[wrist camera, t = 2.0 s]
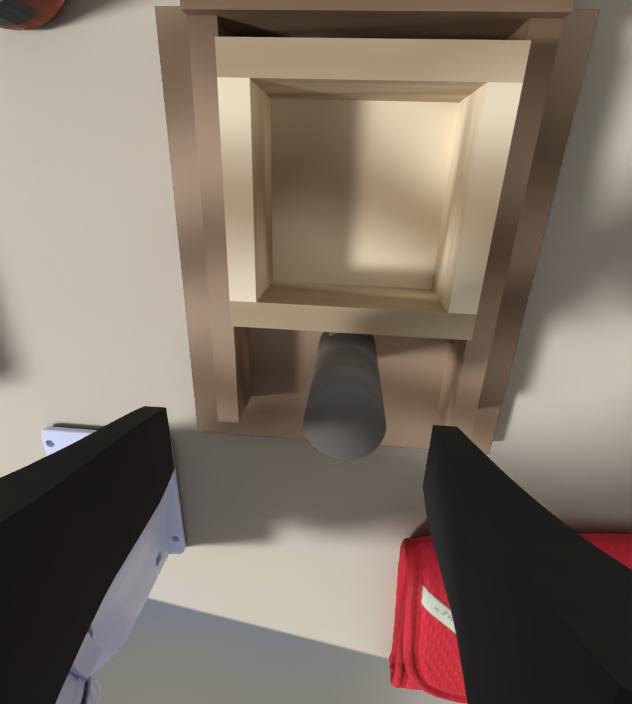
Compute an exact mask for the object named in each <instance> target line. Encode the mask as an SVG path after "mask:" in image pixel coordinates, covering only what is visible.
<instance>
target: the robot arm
mask: <svg viewBox="0 0 632 704" xmlns="http://www.w3.org/2000/svg"><path fill="white" fill-rule="evenodd" d="M41 438H42V441H43V445H44V448H45V452H46V455H47V456H46V457H44V458H42V459H40V460H38V461H36V462H34V463H32V464H30V465H28V466H26V467H24V468H21V469H19V470H17V471H15V472H12V473H10V474H8V475H6V476H3V477H1V478H0V704H99V702H100V685H99V683H98V681H97V680H96V679H95V678H93V677H91V676H90V675H91V674H92V673H94V672H96V671H97V670H98V669H99V668H101V667H102V666H103V665H104V664H106V663H107V662H108V661H109V660H110V659H111V658H112V657H113V656H114V655H115V654H116V652H117V651H118V650H119V649H120V648H121V646H122V645H123V644H124V642H125V641H126V639H127V638H128V636H129V634H130V632H131V630H132V628H133V626H134V624H135V622H136V620H137V618H138V616H139V614H140V612H141V610H142V608H143V606H144V604H145V601H146V599H147V597H148V595H149V593H150V591H151V589H152V587H153V585H154V583H155V581H156V579H157V577H158V575H159V573H160V571H161V569H162V567H163V565H164V563H165V561H166V559H167V557H168V555H169V554H182V553H183V552H184V550H185V548H186V544H185V536H184V529H183V521H182V514H181V507H180V499H179V492H178V484H177V477H176V469H175V462H174V455H173V447H172V442H171V438H170V431H169V425H168V418H167V412H166V408H163V407H147V406H144V407H142V408H139V409H137V410H135V411H133V412H131V413H129V414H127V415H125V416H123V417H121V418H119V419H117V420H115V421H114V422H112V423H110V424H108V425H106V426H104V427H102V428H101V429H99V430H88V429H75V428H62V427H46V428H45V429H44V430H42V432H41ZM53 442H54V443H53ZM423 491H424V499H425V507H426V514H427V521H428V525H429V529H430V533H431V537H432V541H433V545H434V549H435V553H436V556H437V560H438V564H439V568H440V572H441V575H442V579H443V583H444V587H445V590H446V594H447V598H448V602H449V605H450V609H451V614H452V618H453V622H454V627H455V632H456V637H457V643H458V649H459V655H460V661H461V667H462V673H463V679H464V685H465V692H466V698H467V704H632V569H630V568H628V567H627V566H625V565H624V564H622V563H621V562H619V561H618V560H616V559H614V558H613V557H611V556H610V555H608V554H607V553H605V552H604V551H602V550H601V549H599V548H598V547H597V546H595V545H594V544H592V543H591V542H589V541H588V540H587V539H585V538H584V537H582V536H581V535H580V534H578V533H577V532H576V531H574V530H573V529H572V528H570V527H569V526H567V525H566V524H565V523H563V522H562V521H561V520H559V519H558V518H557V517H556V516H554V515H553V514H552V513H550V512H549V511H548V510H547V509H545V508H544V507H543V506H542V505H541V504H539V503H538V502H537V501H536V500H535V499H534V498H532V497H531V496H530V495H529V494H528V493H526V492H525V491H524V490H523V489H522V488H521V487H520V486H518V485H517V484H516V483H515V482H514V481H513V480H512V479H511V478H510V477H508V476H507V475H506V474H505V473H504V472H503V471H502V470H501V469H500V468H499V467H498V466H497V465H496V464H495V463H494V462H493V461H492V460H490V459H489V458H488V457H487V456H486V455H485V454H484V453H483V452H482V451H481V450H480V449H479V448H478V447H477V446H476V445H475V444H474V443H473V442H472V441H471V440H470V439H469V438H468V437H467V436H466V435H465V434H464V433H463V432H462V431H461V430H460V429H459V428H458V427H457V426H442V425H433V427H432V433H431V440H430V446H429V452H428V458H427V465H426V471H425V477H424V483H423Z"/></svg>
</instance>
